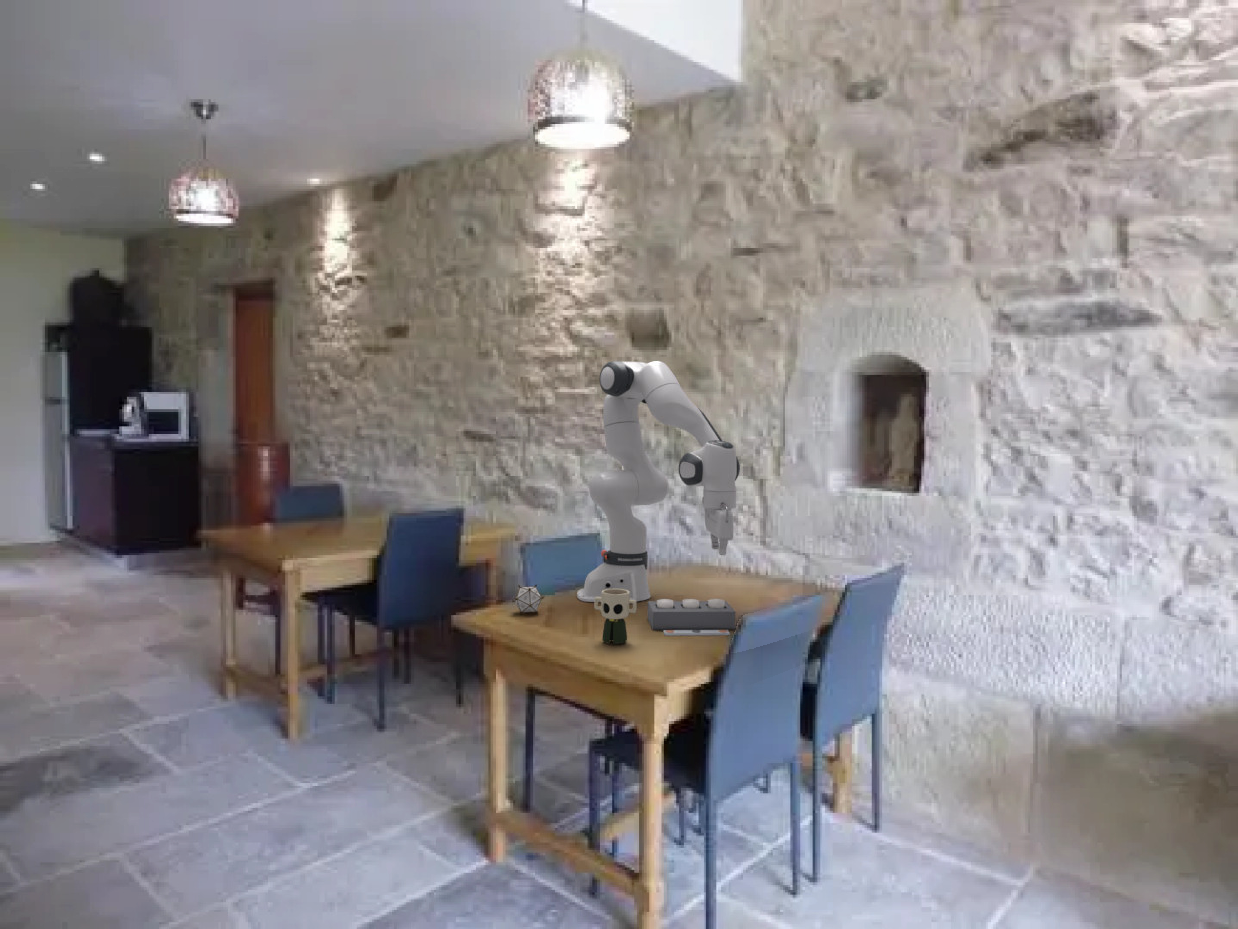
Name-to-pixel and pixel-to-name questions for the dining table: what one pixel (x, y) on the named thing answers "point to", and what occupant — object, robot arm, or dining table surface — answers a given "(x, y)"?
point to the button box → (691, 617)
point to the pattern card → (695, 632)
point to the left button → (664, 604)
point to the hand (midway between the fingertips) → (718, 552)
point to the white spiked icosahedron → (528, 599)
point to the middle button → (690, 603)
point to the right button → (716, 603)
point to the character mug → (615, 613)
